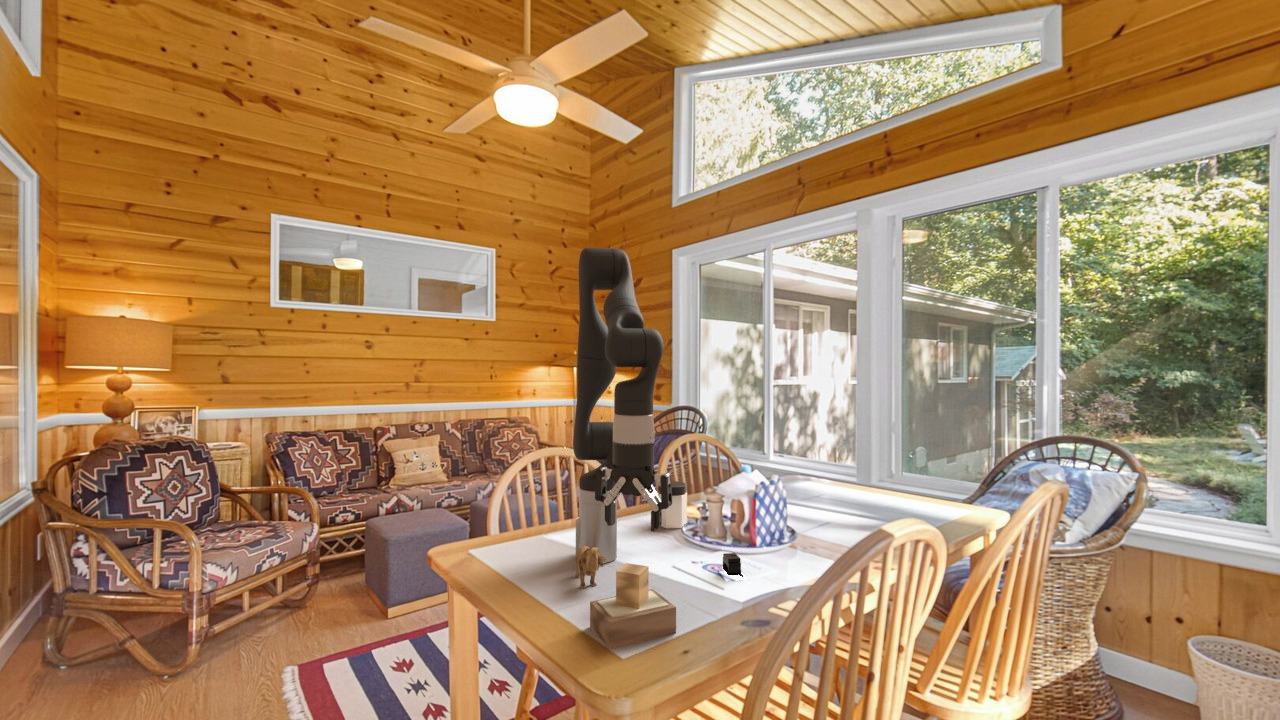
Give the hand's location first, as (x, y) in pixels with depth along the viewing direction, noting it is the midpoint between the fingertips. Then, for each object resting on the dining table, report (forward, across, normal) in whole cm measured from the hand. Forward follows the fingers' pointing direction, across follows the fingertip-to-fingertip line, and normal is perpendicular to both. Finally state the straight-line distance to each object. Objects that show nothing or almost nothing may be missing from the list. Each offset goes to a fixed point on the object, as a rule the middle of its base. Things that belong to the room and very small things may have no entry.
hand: (632, 527), depth 106 cm
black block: (+20, +11, +33) cm, 40 cm away
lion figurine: (+19, -17, +17) cm, 31 cm away
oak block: (+14, 0, 0) cm, 14 cm away
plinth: (+19, 0, 0) cm, 19 cm away
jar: (+20, -14, +64) cm, 68 cm away
